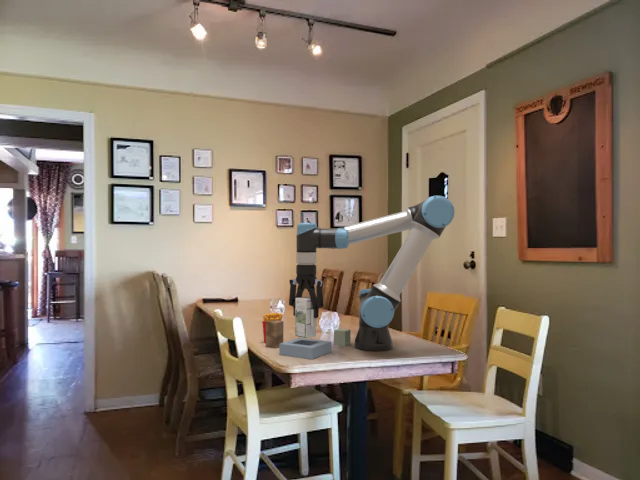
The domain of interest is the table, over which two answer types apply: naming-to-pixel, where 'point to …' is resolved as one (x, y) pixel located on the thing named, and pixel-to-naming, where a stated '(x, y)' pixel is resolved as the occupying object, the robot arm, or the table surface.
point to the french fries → (268, 318)
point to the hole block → (305, 348)
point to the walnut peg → (274, 333)
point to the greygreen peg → (342, 337)
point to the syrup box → (304, 318)
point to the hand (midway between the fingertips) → (305, 325)
